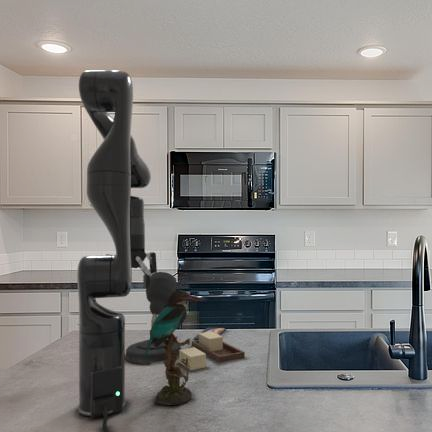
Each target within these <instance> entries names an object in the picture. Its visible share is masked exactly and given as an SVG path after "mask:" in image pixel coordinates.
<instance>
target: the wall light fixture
mask: <svg viewBox="0 0 432 432" xmlns="http://www.w3.org/2000/svg"><path fill="white" fill-rule="evenodd" d="M177 287H178V286H177V278H176V277H175V276H174V275H172V274H171V273H168V272H165V271H157V272H156V273H152V274H151V275H150V286H148V288H146V289H145V296H146V300H147V301H148V302H149V303H150V304H149V311H150V313H151V320H150V322H151V323H150V330H149V332H150V331H151V328H152V326H153V323H154V321H155V319H156V318H157V316H158V315H159V314H160V312H161V311H162V310H163V309H165V306H167V303H168V300H169V298H170V295H171V294H172V293H173V292H174V291H176V290H177ZM153 342H154V340H153ZM153 342H152V343H151V345H150V348H149V350H148V353H147V355H146V357H145V359H144V360H143V358H144V355H145V353H146V349H147V346H148V343H149V339H145V340H142V341H138V342H134V343H132V344H130V345H129V346H128V347H127V348H125V361H128V362H129V363H132V364H140V365H149V364H152V363H159V362H165V361H166V357H165V356H166V355H167V352H166V350H165V349H164V347H165V345H166V344H164V342H163V343H161V344H160V345H159V346H158V347H157V348H156V347H155V346H154V343H153ZM181 347H182V346H179V345H178V344H176V343H175V344H174V345H173V346H172V350H174V351H176V352H177V355H178V356H179V350H181V349H182V348H181Z"/></svg>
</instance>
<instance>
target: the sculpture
mask: <svg viewBox="0 0 432 432" xmlns="http://www.w3.org/2000/svg"><path fill="white" fill-rule="evenodd" d="M186 302H195V303H197V302H205V299H202V298H201V297H196V296H193V295H190V294H189V293H188V291H186V290H182V289H176V291H174V292H173V293H172V294H171V295H170V298H169V300H168V303H167V305H165V307H164V308H163V310H162V311H161V312H160V314H158V315H157V318H156V319H155V321H154V323H153V326H152V328H151V327H150V330H151V331H150V330H149V339H148V340H149V343H148V346H147V349H146V353H145V355H144V358H143V360H144V359H145V357H146V355H147V353H148V350H149V348H150V345H151V343H152V342H153V340H154V342H153V343H154V346H155V347H156V348H157V347H158V346H159V345H160V344H161V343H163V342H164V344H166V345H165V347H164V349H165V350H166V352H167V355H166V356H165V357H166V360H164V361H163V364H164V367H165V378H166V380H167V385H164V386H163V387H162V388H161V389H160V390H159V391H158V392H157V393H156V396H155V399H154V402H155V403H156V404H157V405H162V406H176V405H181V404H184V403H186V402H188V401H189V400H190V399H191V398H192V391H191V390H190V389H189V388H187V387H185V386H186V385H187V382H188V381H189V371H190V369H189V368H187V366H189V364H188V365H187V363H188V359H187V358H186V362H185V363H184V361H185V359H182V360H183V361H181V362H182V363H183V364H185V365H186V367H185V366H184V370H183V368H181V363H178V366H177V365H175V364H176V362H177V361H178V359H179V355H177V352H176V351H174V350H172V346H173V345H174V344H175V343H176V344H178V345H179V346H181V347H184V346H186V345H188V346H190V345H191V338H187V339H186V340H184V341H183V342H182V341H181V342H180V341H178V336H176V335H175V334H174V332H175V331H176V330H177V329H178V328H180V327H181V326H182V325H183V324H184V323H185V320H186V319H187V315H188V305H187V303H186ZM189 367H190V366H189ZM181 378H183V380H182V383H181Z"/></svg>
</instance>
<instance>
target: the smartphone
mask: <svg viewBox="0 0 432 432" xmlns="http://www.w3.org/2000/svg"><path fill="white" fill-rule="evenodd" d="M211 331H212V332H214V333H216V334H218V335H220V336H222V335H223V334H224V333H225V332H227V329H226V328H224V327H206V328H204V329H203V330H202V331H201V332H200V333H205V332H211ZM196 340H199V333H198V334H197V335H196V336H195V337H194V338H193V341H196Z"/></svg>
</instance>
